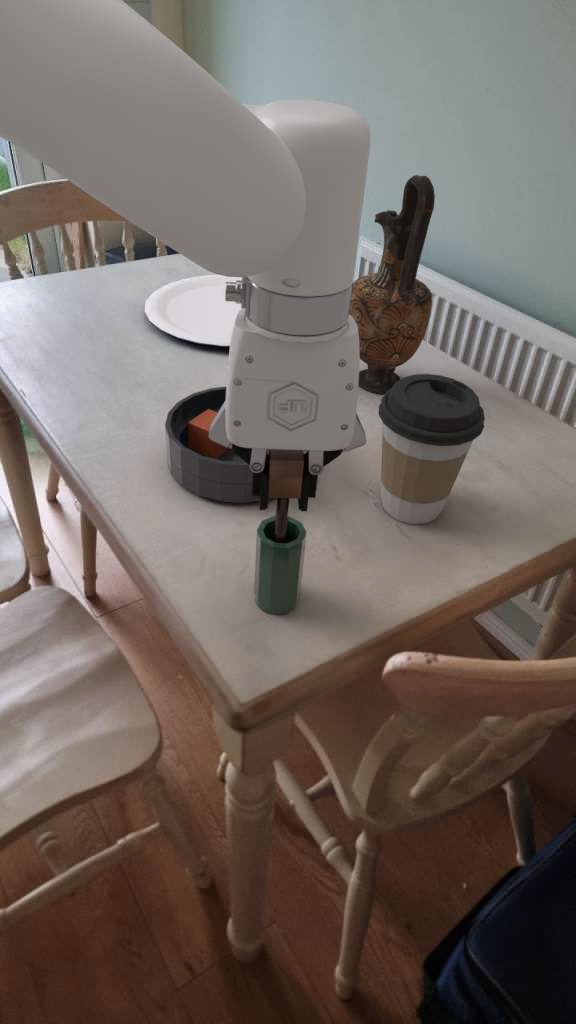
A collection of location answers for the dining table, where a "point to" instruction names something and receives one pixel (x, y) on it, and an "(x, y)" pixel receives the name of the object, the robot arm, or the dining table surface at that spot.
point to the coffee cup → (425, 443)
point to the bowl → (198, 472)
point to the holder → (279, 566)
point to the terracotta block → (204, 436)
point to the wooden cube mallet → (284, 485)
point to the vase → (395, 291)
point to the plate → (195, 310)
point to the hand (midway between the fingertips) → (282, 499)
